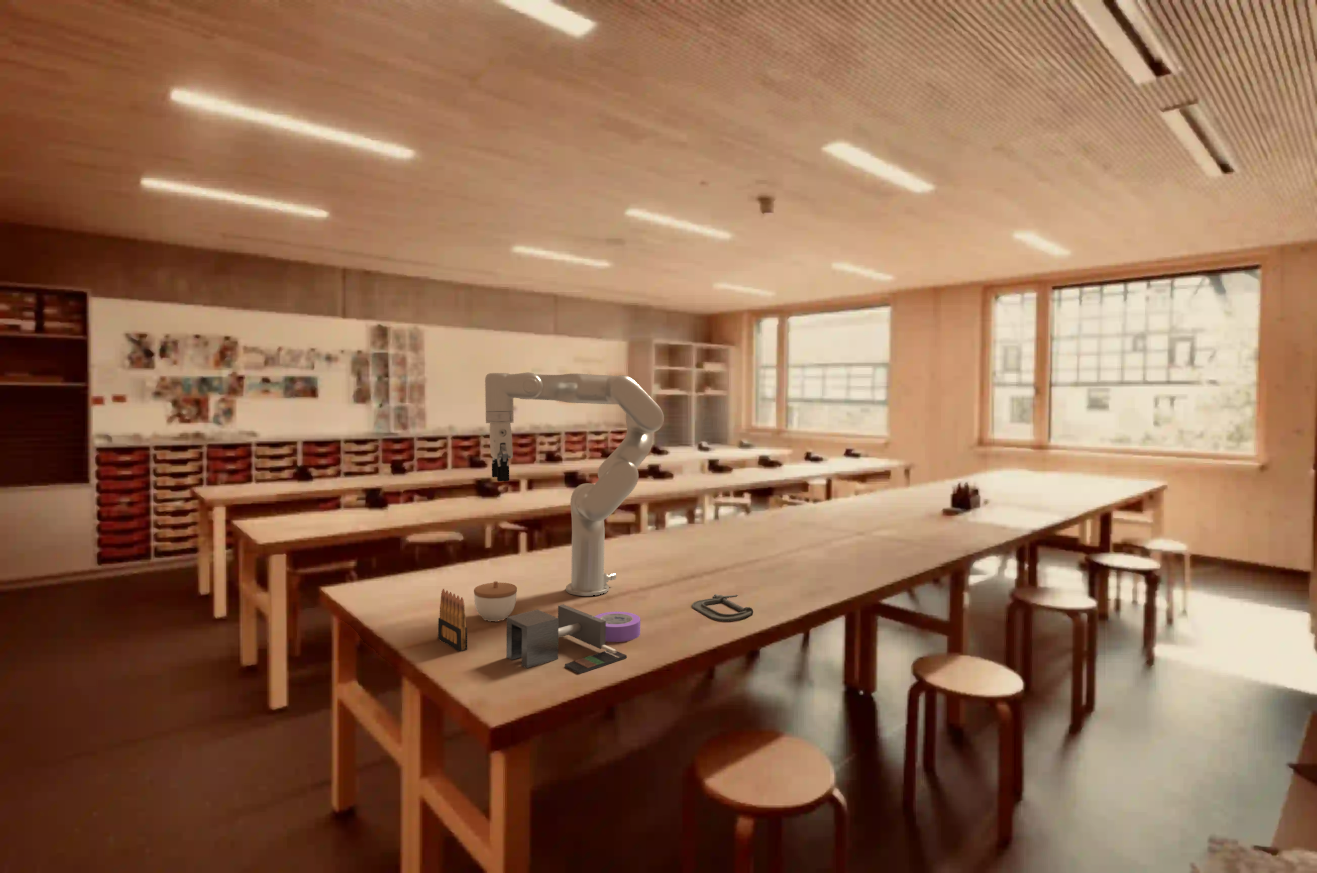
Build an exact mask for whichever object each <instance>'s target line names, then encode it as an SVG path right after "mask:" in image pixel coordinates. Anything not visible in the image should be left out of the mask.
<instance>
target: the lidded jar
mask: <svg viewBox="0 0 1317 873" xmlns="http://www.w3.org/2000/svg"><path fill="white" fill-rule="evenodd" d="M517 591H518V587H517V586H516V585H515V584H512V583H509V582H500V581H499V582H498V581H496V580H495V581H493V582H488V583H482V584H479V585H477V586H475V588H474V589H473V594H474V595H473V597H474V606H475V609H476V611H477V613H478V615H479V616H480V617H482V619H483V620H484V621H486V620H488V621H487V622H491V621H495V622H499V621H498V620H502V621H504V620H503V619H505V618H507V617H509V616H511V614H512V613H513V611H514V609H515V606H516V603H517ZM505 620H506V619H505Z"/></svg>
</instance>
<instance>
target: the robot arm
mask: <svg viewBox="0 0 1317 873" xmlns="http://www.w3.org/2000/svg"><path fill="white" fill-rule="evenodd" d="M484 382H485V384H484V386H485V387H484V389H485V390H484V391H485V392H484V393H485V394H484V395H485V396H484V397H485V402H484V403H485V423H486V424H489V450H490V457H492V458H491V477H492V478H496V480H497V482H501V483H502V482H509V481H510V462H509V460H511V459H512V458H513V457H514V455H513V454H514V453H513V438H512V437H513V436H512V435H513V434H512V427H511V426H512V424H513V423H514V399H520V400H535V401H536V400H538V401H540V400H541V401H556V402H558V401H559V402H562V403H563V402H565V403H572V404H593V405H617V406H619V407H620V408H621V409H622V411H623V412H625V422H626V434H625V436H624V438H623V440H622V442H620V444H619V445H618V446H617V447H616V449H614V450H613V452H611V454H610V455H609V456H608V457H607V458H606V459H605V460H604V461H603V462H602V463H601V464H600V465H599V468H598V469H597V478H598V479H597V481H596V482H595V483H590V482H589V483H587V482H586V483H582V484H578V486H576V487H575V488H574V490H573V492H572V493H571V497H570V514H571V574H570V576H571V577H570V578H571V582H570V583H569V584H567V585H566V587H565V591H566V592H567V593H568V594H570V595H574V596H580V597H592V596H593V595H595V596H599V595H600V594H601V595H603V593H604V594H606V593H608V592H609V590H610V586H609V585H608V582H609V581H613V580H616V579H617V574H616V573H615V572H612V573H609V574H608V573H606V572H605V534H606V532H605V531H606V530H605V520H606V519H607V518H608V517H610V516H611V515H612V514H614V512H615V511H616V510H617V509H618V507H620V506H621V504H622V503H624V501H625V500H626V499H627V498H628V496H630V495H631V494H632V492H633V491H634V489H635V488H636V486H637V484H638V481H639V475H640V474H639V470H638V468H639V467H640V465H641V464H642V463H643V462H644V461H645V459H646V458H647V456H648V455H649V453H650V452H651V449H652V447H653V441H654V440H653V439H654V433H656V432H658V431H659V430H660V429H661V428H662V427H663V425H664V420H665V415H664V412H663V410H662V408H661V406H659V404H658V403H657V402H656V401H655V400H654V399H653V398H652V397H651V396H650V394H648V393H647V392H646V390H644V389H643V388H642V387H641V386H640V384H638V383H637V381H635V379H633V378H632V377H630V376H628V375H611V374H610V375H608V374H607V375H606V374H592V373H591V374H590V373H589V374H588V373H566V374H539V373H538V374H537V373H533V372H526V371H525V372H521V373H511V374H510V373H509V372H507V373H506V372H491V373H490V372H489V373H488V374H486V375H485V378H484ZM607 591H608V592H607Z"/></svg>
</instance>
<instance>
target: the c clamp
mask: <svg viewBox="0 0 1317 873" xmlns="http://www.w3.org/2000/svg"><path fill="white" fill-rule="evenodd" d="M737 596H739V594H733V595H722V594H718V593H714V594H713V595H712V597H711V598H707V599H706V598H705V599H700V600H697V601H694V602H693V603H691V608H692V609H693V608H694V609H693V610H695V611H697V612H698V611H699V612H698V613H700V614H702V615H703V616H706V617H707V616H708V617H707V618H709V619H711V620H713V621H717V622H735V621H738V620H742V619H746V618H747V617H748V616H753V614H754V610H753V608H752V607H751V606H745V607H743V606H741V605H740V604H737V603H735V602H733V601H731V600H730V599H729V597H730V598H736V597H737ZM712 604H713V605H718V604H725V605H727V606H729V607H730V608H733V609H734V610H736V611H739V612H735V613H724V612H723V613H721V612H719V611H717V610H715V609H713V608H712V607H709V606H711V605H712ZM706 605H707V606H706ZM713 605H712V606H713Z"/></svg>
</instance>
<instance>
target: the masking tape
mask: <svg viewBox="0 0 1317 873" xmlns="http://www.w3.org/2000/svg"><path fill="white" fill-rule="evenodd" d="M594 617H597V618H599V619H602V620H604V621H606V642H610V643H611V642H612V643H622V642H628V641H632V640H635V639H637V638H639V637H640V636H641V617H640V616H639V615H637V614H635V613H632V612H628V611H607V612H603V613H598V614H597V615H595V616H594Z"/></svg>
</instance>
